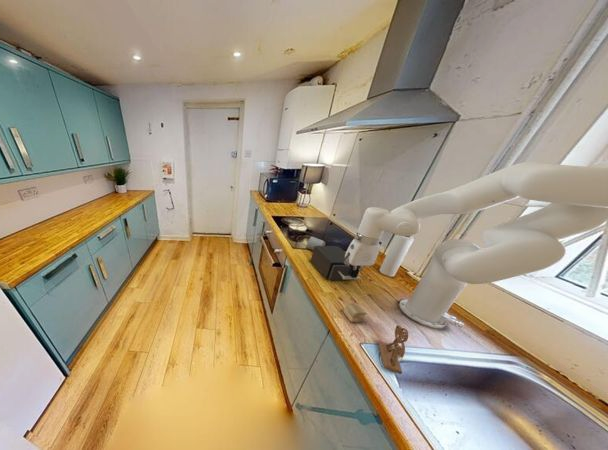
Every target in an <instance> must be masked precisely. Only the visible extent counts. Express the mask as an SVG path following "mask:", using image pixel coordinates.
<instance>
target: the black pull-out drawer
mask: <svg viewBox="0 0 608 450" xmlns="http://www.w3.org/2000/svg"><path fill="white" fill-rule="evenodd" d="M349 269H350V266H348V265H345V264H333V265H332V267H331V270H330V273H329V278H328V279H327V280H329V281H355V280H361V276H360V275H357V278H352V277H351V276H350V275H349V274H348V271H349Z"/></svg>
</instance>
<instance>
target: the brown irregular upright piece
mask: <svg viewBox="0 0 608 450" xmlns="http://www.w3.org/2000/svg"><path fill="white" fill-rule="evenodd" d="M408 339H409V330H408V329H407V328H405V327H402V326H401V325H400V324H397V325H396V326H395V328H394V340H393V341H392V342H390V343H387V342H384V341H381V340H378V342H377V344H378V348H379V352H380V356H381V360H382V363H383V367H384V368H385V369H387V370H389V371H392V372H394V373H396V374H399V375H402V374H403V370H402V367H401V364H400V360H399V358H404V356H405V353H406V345H405V343H406V342H407V341H408ZM398 357H399V358H398Z"/></svg>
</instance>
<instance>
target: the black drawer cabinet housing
mask: <svg viewBox="0 0 608 450" xmlns="http://www.w3.org/2000/svg"><path fill="white" fill-rule="evenodd" d="M346 252H347V251H345V250H344V249H343V248H341V247H340V246H339V245H325V246H314V250H312V254H311V257H310V261H309V262H310V263H311V264H312V265H313V266H314V267H315V269H316V270H317V271H318V272H319V273H320V274H321V276H322V277H323V278H324V279H325V280H329V279H328V278H329V273H330V270H331V267H332V265H333V264H344V261H345V254H346Z"/></svg>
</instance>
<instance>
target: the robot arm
mask: <svg viewBox="0 0 608 450" xmlns="http://www.w3.org/2000/svg"><path fill="white" fill-rule="evenodd" d="M518 198H522V199H526V200H530V201H537V202H541V203H543V202H544V203H549V204H547V205H546V206H543V207H541V208H539V209H537V210H535V211H532V212H530V213H527V214H524V215H523V216H519V217H517V218H513V219H510V220H508V221H505V222H503V223H500V224H498V225H494V226H493V227H490V228H488V229H486V230H485V231H484V232H483V234H482V235H481V239H482V242H483V243H484V244H485V246H486V247H484V248H481V247H480V246H479V245H478V244H476V243H474V242H472V241H469V240H467V239H461V238H453V239H452V238H451V239H448V240H447V239H446V240H444V241H443V242H441V243H439V244H438V245H437V246H436V248H435V249H434V251H433V253H432V256H431V258H430V261H429V263H428V266H427V268H426V269H425V272H424V273H423V274H422V276H421V278H420V279H419V281H418V282H417V284H416V286H415V288H414V290H413V291H412V293H411V294H410V296H409V298H408V299H403V300H400V302H399V304H398V306H399V309H400V310H401V311H402V312H403V314H405V315H406V316H407V317H408V318H410V319H411V320H413V321H415V322H416V323H419V324H421V325H423V326H425V327H429V328H433V329H443V328H445V327H446V326H447V325H448V324H450V325H453V326H454V327H457V328H458V329H463V328H464V326H465V323H464V322H462V321H459V320H457V319H458V318H457V317H456V316H454V315H450V314H448V313H447V312H448V311H449V310H450V308H451V307H452V306H453V305H454V303H455V301H456V300H457V299H458V298H459V296H460V295H461V293H462V292H463V291H464V289H465V288H466V287H467V285H468V284H469V285H484V284H485V285H486V284H490V283H495V282H500V281H503V280H508V279H512V278H515V277H520V276H524V275H527V274H532V273H535V272H540V271H543V270H547V269H549V268H551V267H554V266H556V265H557V264H559V263H560V262H561V261H562V260H563V259H564V258H565V256H566V254H567V253H566V247H565V245H564V244H563V243H562V242H561V241H564V240H567V239H570V238H573V237H576V236H579V235H583V234H586V233H588V232H591V231H593V230H594V229H598V227H600V226H601V225H603V224H605V223H606V222H607V221H608V163H598V164H591V165H587V166H583V165H582V166H581V165H570V164H568V165H567V164H557V163H550V162H542V161H523V162H518V163H515V164H511V165H509V166H505V167H503V168H501V169H499V170H496V171H494V172H492V173H489V174H487V175H483V176H481V177H479V178H477V179H474V180H471V181H469V182H467V183H464V184H462V185H459V186H457V187H454V188H452V189H450V190H446V191H442V192H438V193H434V194H431V195H427V196H424V197H423V196H422V197H420V198H418V199H415V200H412V201H409V202H407V203H404V204H402V205H400V206H398V207H395V208H394V209H392V210H391V211H390V210H389V209H387V208H383V207H378V206H377V207H376V206H370V207H367V208H366V209H365V211H364V213H363V215H362V218H361V222H360V224H359V227H358V228H357V232H356V233H355V234H356V235H353V239H352V241H351V242H350V244H349V245H348V247H347V249H346V251H345V252H346V254H345V261H344V264H345V265H348V266H350V269H349V271H348V274H349V275H350V276H351V277H352V278H357V276H359V273H360V271H362V270H363V268H365V267H367V266H368V267H370V266H374V265H375V263H376V262H377V258H378V256H379V252H380V248H381V243H380V241H381V239H382V237H383V235H384V232H387V233H390V234H393V235H395V236H396V235H399V236H414V235H416V234H418V233H419V231H420V230H421V223H420V221H421V220H424V219H427V218H430V217H434V216H439V215H469V214H473V213H476V212H479V211H483V210H486V209H489V208H491V207H494V206H498V205H501V204H503V203H506V202H509V201H513V200H515V199H518Z"/></svg>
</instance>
